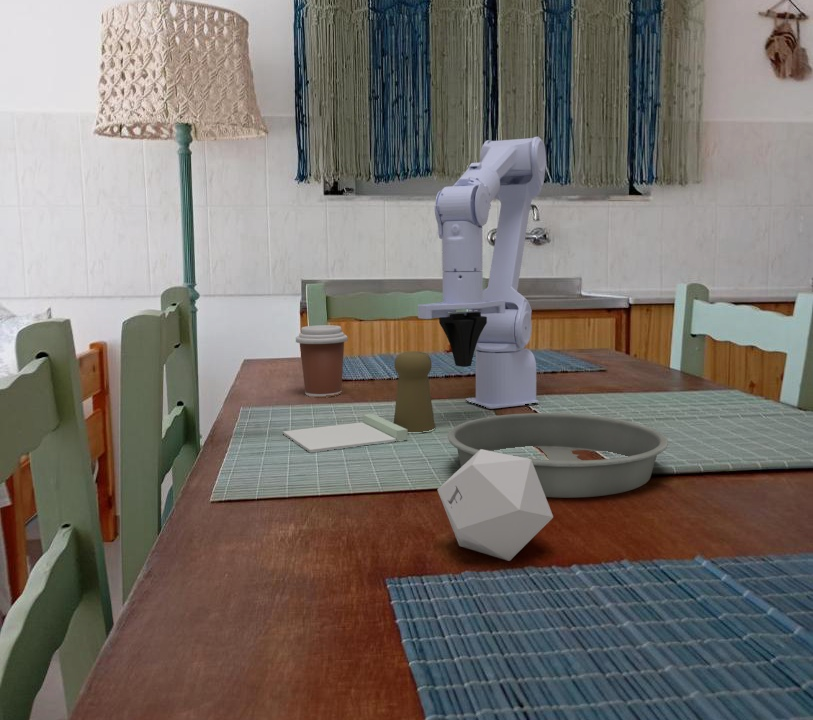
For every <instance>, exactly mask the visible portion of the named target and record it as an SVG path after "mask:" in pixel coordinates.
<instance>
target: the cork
mask: <svg viewBox="0 0 813 720" xmlns="http://www.w3.org/2000/svg"><path fill="white" fill-rule="evenodd" d="M432 363H433V362H432V359H431V357H430V355H429V354H428V353H425V352H422V351H405V352H401V353H399V354H397V356H396V357H395V359H394V369H395V372H396V373H397V375H398V379H397V389H396V398H395V407H394V409H395V410H394V416H393V423H394V424H396V425H398V426H401V427H403V428H405V429H407V432H423V431H429V430H432V429H434V428H435V429H436V423H435V416H434V409H433V402H432V394H431V389H430V381H429V376H428V375H429V374H430V372H431V370H432V365H433V364H432Z"/></svg>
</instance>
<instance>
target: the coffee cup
mask: <svg viewBox="0 0 813 720" xmlns="http://www.w3.org/2000/svg"><path fill="white" fill-rule="evenodd" d="M300 329H301V331H300V332H301V333H299V334H298V336H296V337H295V343H297V344H299V349H300V357H301V358H300V360H301V368H302V376H303V384H304V385H303V386H304V394H306V395H309V396H326V395H334V394H338V393H340V392H342V390H343V371H344V370H343V369H344V354H345V353H344V351H345V350H344V348H345V342H347V341H348V335H346V334H345V333H344V332H343V331H342V330H343V329H342V327H341V325H330V324H327V325H326V324H325V325H324V324H320V325H318V324H317V325H316V324H315V325H306V326H302V327H301V328H300ZM306 395H305V396H306Z"/></svg>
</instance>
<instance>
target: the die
mask: <svg viewBox="0 0 813 720" xmlns="http://www.w3.org/2000/svg"><path fill="white" fill-rule="evenodd" d="M437 492H438V495H439V497H440V500H441V503H442V505H443V508H444V510H445V512H446V516H447V518H448V520H449V521H448V522H449V523H450V526H451V528H452V531H453V532H454V533H453V534H454V535H455V539H456V541H457V544H458V546H459V547H462V548H464V549H467V550H471V551H474V552H478V553H481V554H484V555H488V556H491V557H494V558H498V559H501V560H504V561H507V562H510V561H512V559H513V558H514V557H515V556H516V555H517V554H518V553H519V552H520V551H521V550H522V549H523V548H524V547H525V546H526V545H528V543H529V542H530V541H531V540H532V539H533V538H534V537H535V536H536V535H537V534H538V533H539V532H540V531H541V530H543V528H544V527H545V526H546V525H547V524H549V522H551V520H552V519H553V518H554V514H553V513H552V510H551V508H550V504H549V502H548V500H547V497H545V494H544V491H543V489H542V486H541V484H540V481H539V478H538V476H537V473H536V471H535V468H534V465H533V463H532V460H531V459H529V458H524V457H519V456H513V455H508V454H503V453H498V452H493V451H488V450H482V449H480V450H479V451H478V452H477V453H476V454H475V455H474V456H473V457H472V458H471V459H470V460H468V461H467V462H466V463H465V464H464V465H463V466H462V467H461V466H460V467H459V469H458V470H457V471H455V472H454V473H452V475H451V476H450V477H449V478H448V479H447V480H446V481H445V482H443V484H441V485H440V486H439V487H438V488H437Z"/></svg>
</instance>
